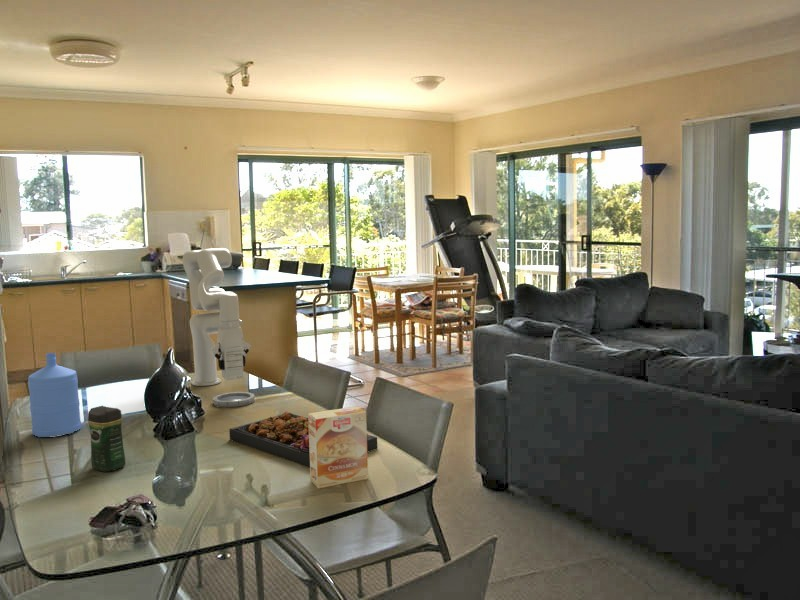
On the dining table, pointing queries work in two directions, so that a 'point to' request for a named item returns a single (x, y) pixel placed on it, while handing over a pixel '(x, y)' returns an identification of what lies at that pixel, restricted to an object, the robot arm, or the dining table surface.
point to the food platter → (282, 437)
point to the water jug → (54, 400)
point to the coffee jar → (106, 438)
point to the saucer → (233, 399)
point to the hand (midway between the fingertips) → (232, 367)
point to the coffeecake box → (338, 446)
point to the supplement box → (233, 363)
